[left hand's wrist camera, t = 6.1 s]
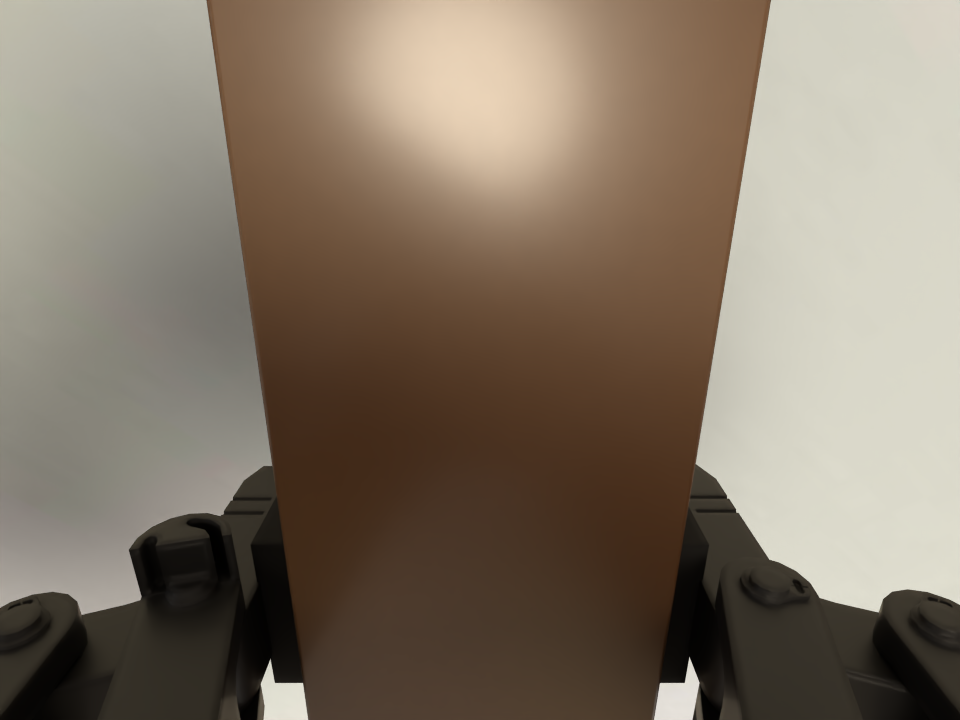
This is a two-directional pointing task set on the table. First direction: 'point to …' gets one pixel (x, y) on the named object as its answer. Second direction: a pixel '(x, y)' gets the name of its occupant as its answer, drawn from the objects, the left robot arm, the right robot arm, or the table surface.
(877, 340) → the table surface
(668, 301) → the beam
